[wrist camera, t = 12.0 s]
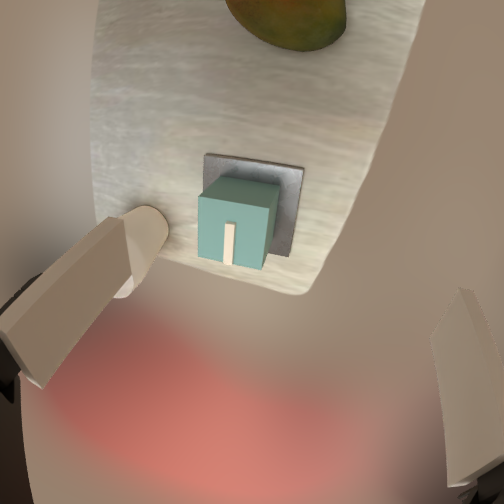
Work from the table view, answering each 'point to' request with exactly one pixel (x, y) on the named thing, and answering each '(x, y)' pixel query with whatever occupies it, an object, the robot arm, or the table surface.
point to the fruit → (292, 21)
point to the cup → (142, 243)
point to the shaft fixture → (264, 173)
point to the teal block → (237, 221)
